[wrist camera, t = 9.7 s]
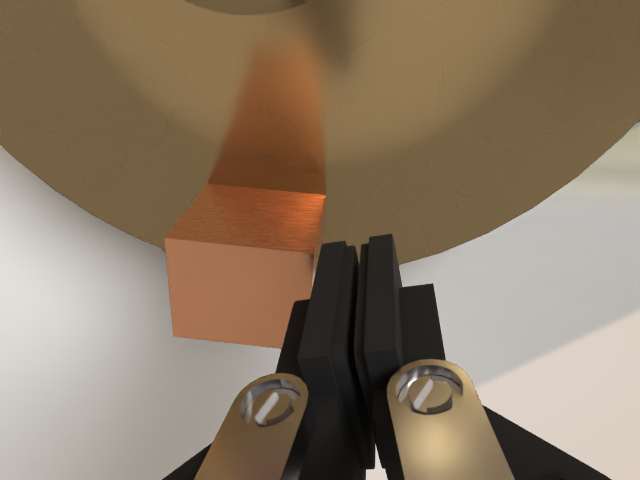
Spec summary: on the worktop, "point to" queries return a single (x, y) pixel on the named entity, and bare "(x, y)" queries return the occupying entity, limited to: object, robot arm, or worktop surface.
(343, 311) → the robot arm
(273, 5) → the brass lugged disc
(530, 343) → the worktop surface
